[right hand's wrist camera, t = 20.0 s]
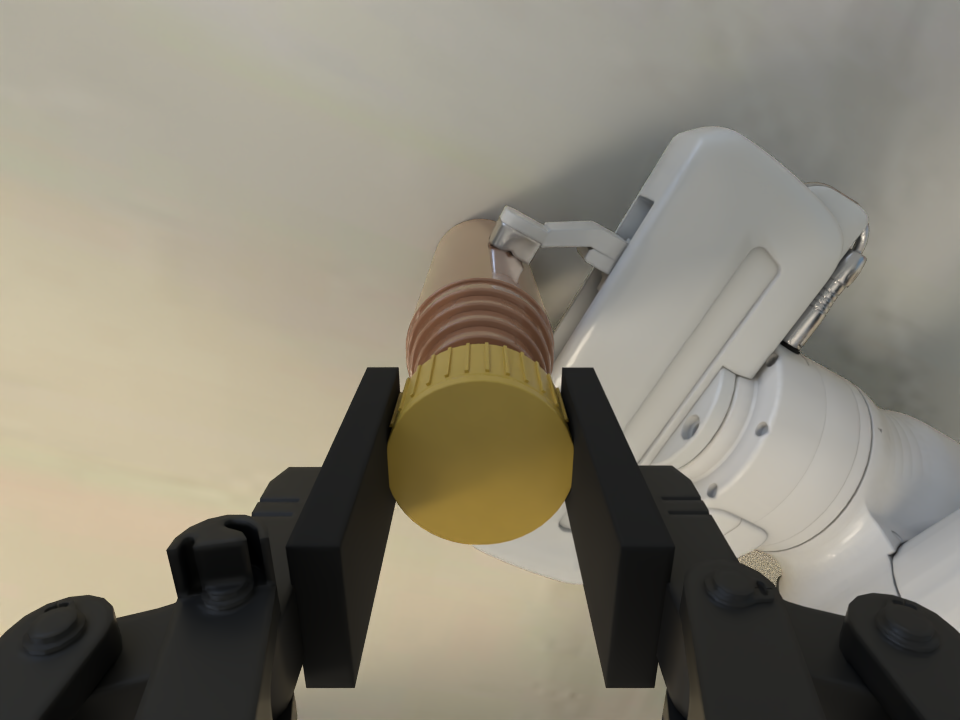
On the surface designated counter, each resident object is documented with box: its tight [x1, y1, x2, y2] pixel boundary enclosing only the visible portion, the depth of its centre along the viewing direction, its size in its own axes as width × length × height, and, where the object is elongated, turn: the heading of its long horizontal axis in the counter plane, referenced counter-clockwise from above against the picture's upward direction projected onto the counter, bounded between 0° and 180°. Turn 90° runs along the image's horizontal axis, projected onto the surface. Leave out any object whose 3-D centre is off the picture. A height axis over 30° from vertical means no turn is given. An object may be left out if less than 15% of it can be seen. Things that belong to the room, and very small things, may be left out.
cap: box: [387, 342, 574, 545], centre depth 14 cm, size 4×4×2 cm
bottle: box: [406, 219, 554, 378], centre depth 22 cm, size 5×5×18 cm
